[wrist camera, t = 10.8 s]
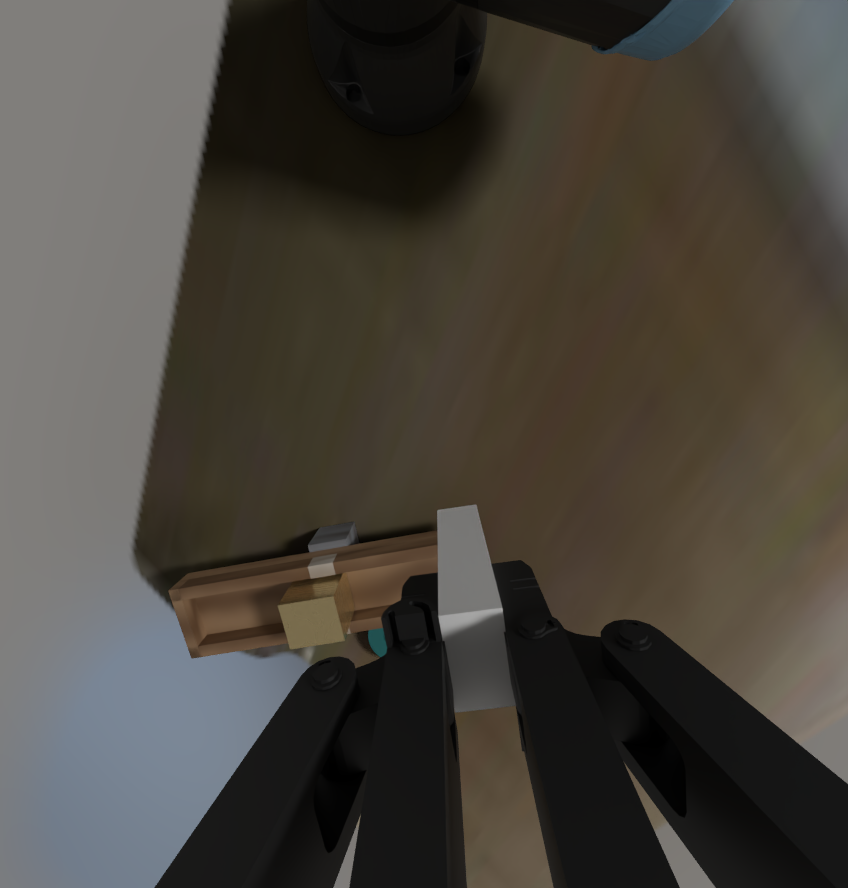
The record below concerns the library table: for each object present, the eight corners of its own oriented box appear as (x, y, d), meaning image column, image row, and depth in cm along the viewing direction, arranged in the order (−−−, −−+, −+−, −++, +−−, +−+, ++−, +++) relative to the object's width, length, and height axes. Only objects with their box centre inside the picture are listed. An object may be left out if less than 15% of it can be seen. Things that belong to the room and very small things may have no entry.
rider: (295, 576, 42) (277, 605, 37) (345, 567, 42) (333, 596, 37) (306, 615, 43) (290, 649, 38) (355, 607, 42) (344, 640, 38)
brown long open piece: (208, 547, 48) (165, 583, 40) (470, 501, 46) (477, 530, 39) (230, 617, 50) (193, 665, 42) (483, 575, 48) (493, 617, 40)
